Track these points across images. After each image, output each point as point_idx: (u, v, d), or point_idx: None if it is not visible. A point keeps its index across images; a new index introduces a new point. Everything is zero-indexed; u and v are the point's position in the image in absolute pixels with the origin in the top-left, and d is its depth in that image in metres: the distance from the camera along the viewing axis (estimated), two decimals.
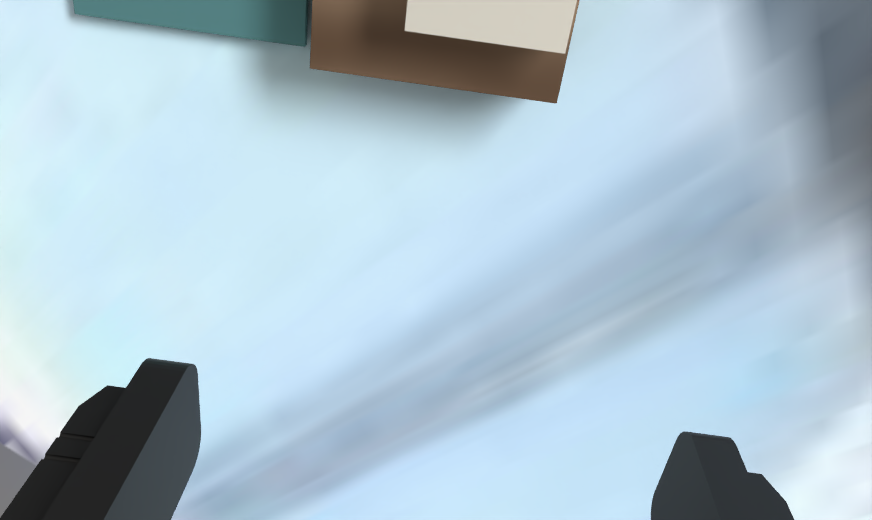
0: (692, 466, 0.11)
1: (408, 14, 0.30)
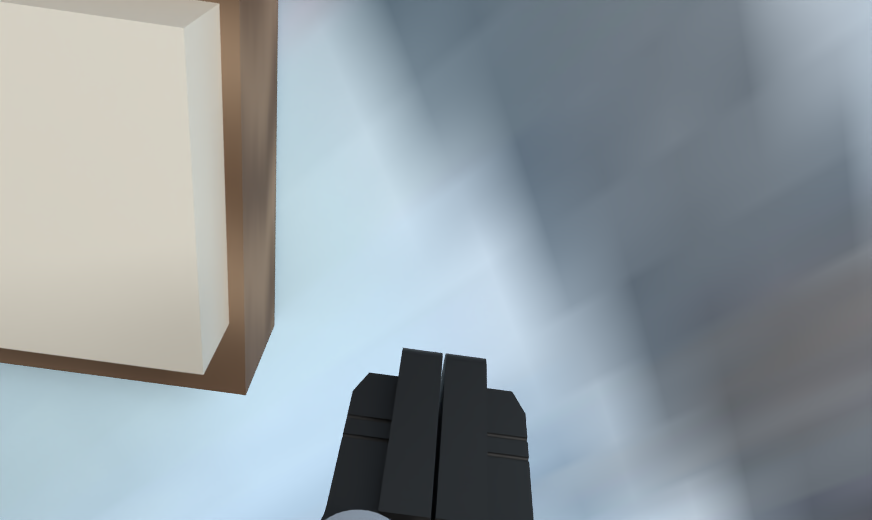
0: (443, 382, 0.12)
1: None
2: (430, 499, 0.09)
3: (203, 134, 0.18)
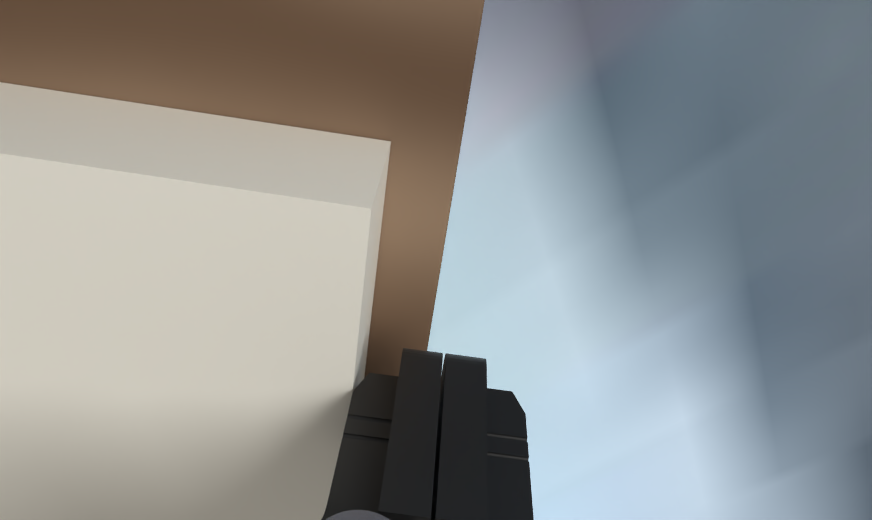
0: (443, 382, 0.12)
1: None
2: (430, 499, 0.09)
3: (363, 331, 0.12)
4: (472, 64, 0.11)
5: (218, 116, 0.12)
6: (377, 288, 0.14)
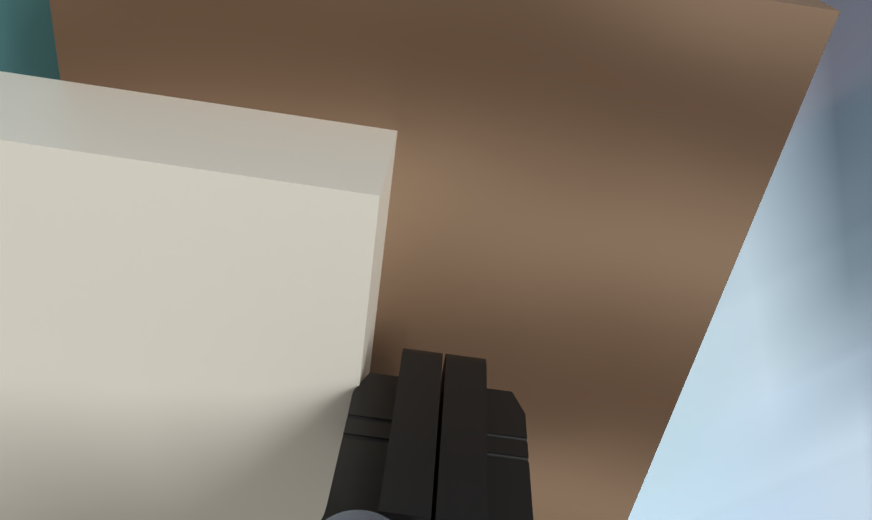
0: (443, 383, 0.12)
1: None
2: (430, 499, 0.09)
3: (370, 321, 0.12)
4: (798, 108, 0.11)
5: (224, 105, 0.12)
6: (649, 323, 0.14)
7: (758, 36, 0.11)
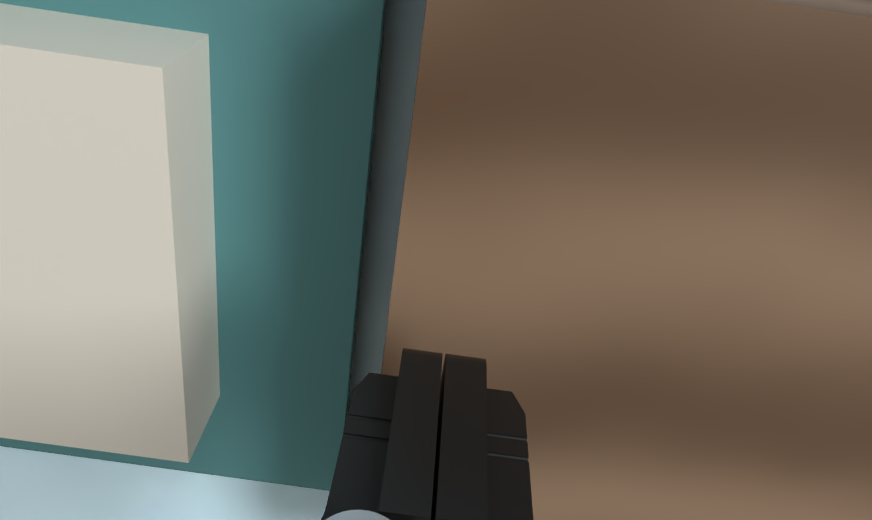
0: (443, 382, 0.12)
1: None
2: (430, 499, 0.09)
3: None
4: None
5: None
6: None
7: None
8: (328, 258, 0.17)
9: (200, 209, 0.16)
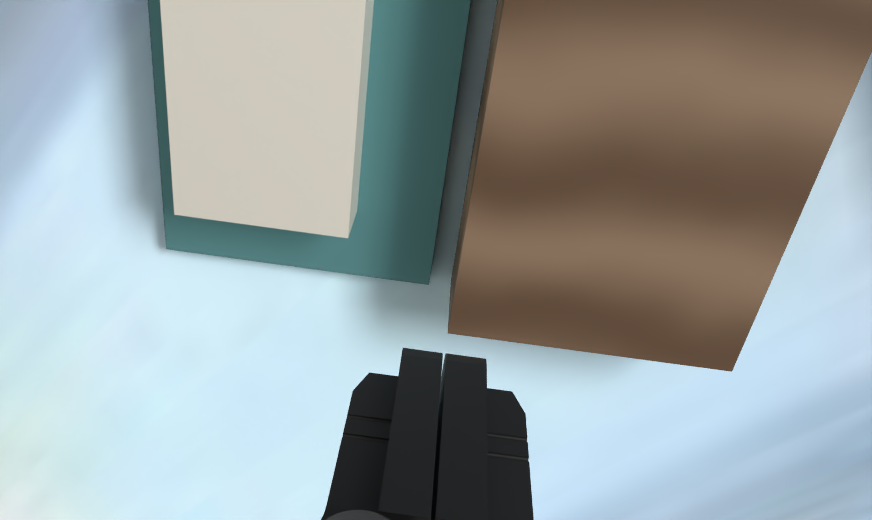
0: (443, 382, 0.12)
1: (356, 195, 0.31)
2: (430, 499, 0.09)
3: None
4: None
5: None
6: (797, 145, 0.25)
7: None
8: (435, 109, 0.28)
9: (365, 71, 0.27)
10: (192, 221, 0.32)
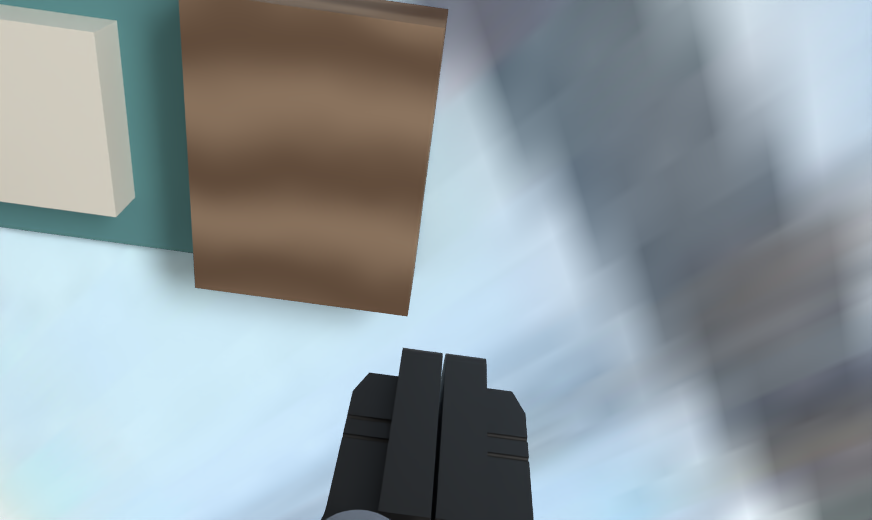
0: (443, 382, 0.12)
1: (132, 186, 0.41)
2: (430, 499, 0.09)
3: None
4: (439, 61, 0.33)
5: (8, 20, 0.34)
6: (406, 149, 0.35)
7: (420, 36, 0.32)
8: (177, 122, 0.39)
9: (116, 96, 0.37)
10: (15, 205, 0.42)
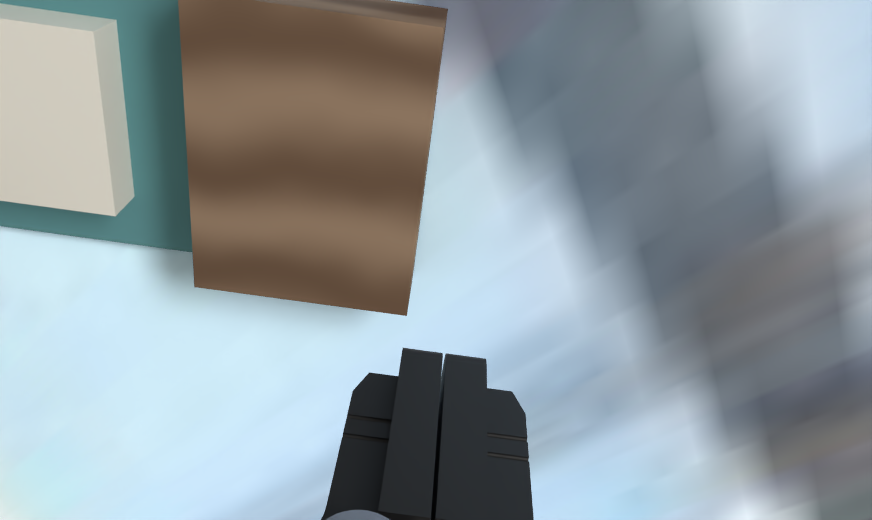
0: (443, 382, 0.12)
1: (131, 185, 0.41)
2: (430, 499, 0.09)
3: None
4: (439, 61, 0.33)
5: (7, 19, 0.34)
6: (405, 148, 0.35)
7: (419, 36, 0.32)
8: (176, 121, 0.39)
9: (116, 95, 0.37)
10: (14, 204, 0.42)
